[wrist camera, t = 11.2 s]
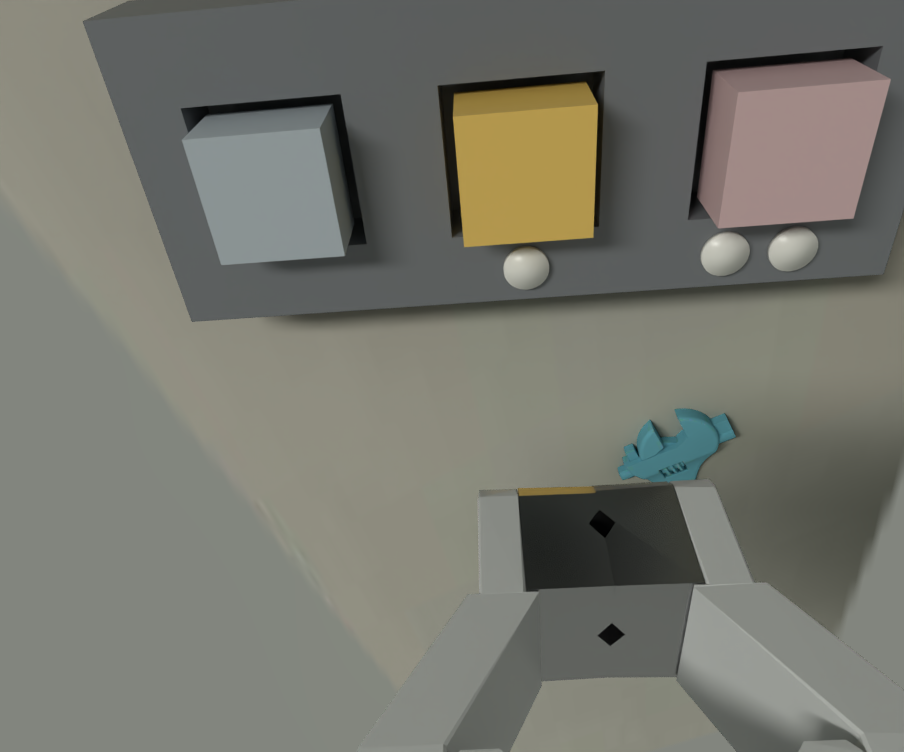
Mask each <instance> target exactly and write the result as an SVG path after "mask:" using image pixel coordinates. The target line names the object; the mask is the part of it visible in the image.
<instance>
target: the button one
mask: <svg viewBox="0 0 904 752" xmlns="http://www.w3.org/2000/svg"><path fill="white" fill-rule="evenodd" d="M597 117H598V104H597V102H596V100H595V98H594V96H593V94H592V92H591V90H590V88H589V86H588V85H587V83H586V81H581V82H570V83H559V84H547V85H536V86H525V87H513V88H502V89H490V90H479V91H468V92H456V93H454V105H453V123H454V135H455V146H456V158H457V170H458V182H459V193H460V205H461V217H462V228H463V240H464V247H474V246H488V245H501V244H515V243H529V242H542V241H556V240H569V239H583V238H593V233H594V204H595V175H596V146H597Z"/></svg>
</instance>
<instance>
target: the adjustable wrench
mask: <svg viewBox="0 0 904 752" xmlns="http://www.w3.org/2000/svg"><path fill="white" fill-rule="evenodd" d="M675 412H676V415H677V417H678V420H679V422H680V424H681V426H682V427H683V429H684V430H682V431H681V432H680V433H678V434H677V435H676V436H677V437H660V436H659V434H658V432H657V431H656V429H655V427H654V425H653V424H652V422H651V420H649V421H648V422H647V423H646V424H645V425H644V426H643V428H642V429H641V431H640V432H639V435H638V438H637V449H638V451H637V450H636V449H635V447H634V445H633V444H630V445H628V446H625V447H624V450H625V453H626V455H627V456H625V457H622V459H623V463H624V465H623V466H620V467H618V471H619V474H620V476H621V478H622V480H625V479H628V478H631V477H633V476H637V477H639V478H641V479H648V480H650V481H651V482H665V481H667V482H668V483H669V482H670V481H682V480H696V476H697V473H698V470H699V468H700V466H701V464H702V463H703V462H704V461H705V460H706V459H707V458H708V457H709V456H710V455H712V454H713V453H715V452H716V451H717V449H718V445H719V443H722V442H725V441H727V440H730V439H733V438H735V437H736V436H735V434H734V432H733V430H732V427H731V425H730V423H729V421H728V419H727V417H726V415H725V413H724V414H722V415H719V416H717V417H714V418H712V419H710V418H709V417H708V416H707V415H705V414H703V413H702V412H699V411H696V410H692V409H675ZM685 465H686V466H685ZM678 468H679V469H678ZM664 473H666V474H664Z"/></svg>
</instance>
